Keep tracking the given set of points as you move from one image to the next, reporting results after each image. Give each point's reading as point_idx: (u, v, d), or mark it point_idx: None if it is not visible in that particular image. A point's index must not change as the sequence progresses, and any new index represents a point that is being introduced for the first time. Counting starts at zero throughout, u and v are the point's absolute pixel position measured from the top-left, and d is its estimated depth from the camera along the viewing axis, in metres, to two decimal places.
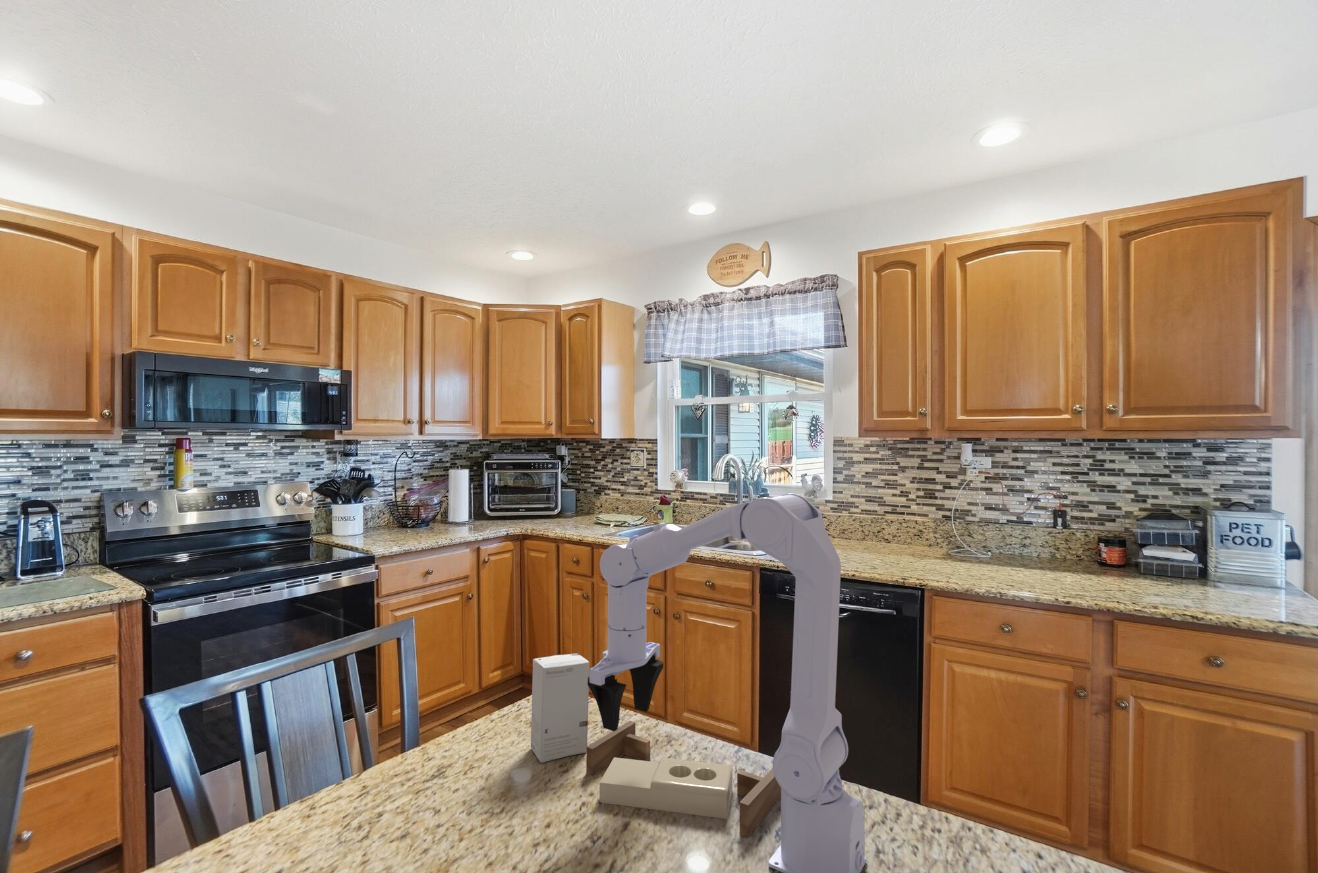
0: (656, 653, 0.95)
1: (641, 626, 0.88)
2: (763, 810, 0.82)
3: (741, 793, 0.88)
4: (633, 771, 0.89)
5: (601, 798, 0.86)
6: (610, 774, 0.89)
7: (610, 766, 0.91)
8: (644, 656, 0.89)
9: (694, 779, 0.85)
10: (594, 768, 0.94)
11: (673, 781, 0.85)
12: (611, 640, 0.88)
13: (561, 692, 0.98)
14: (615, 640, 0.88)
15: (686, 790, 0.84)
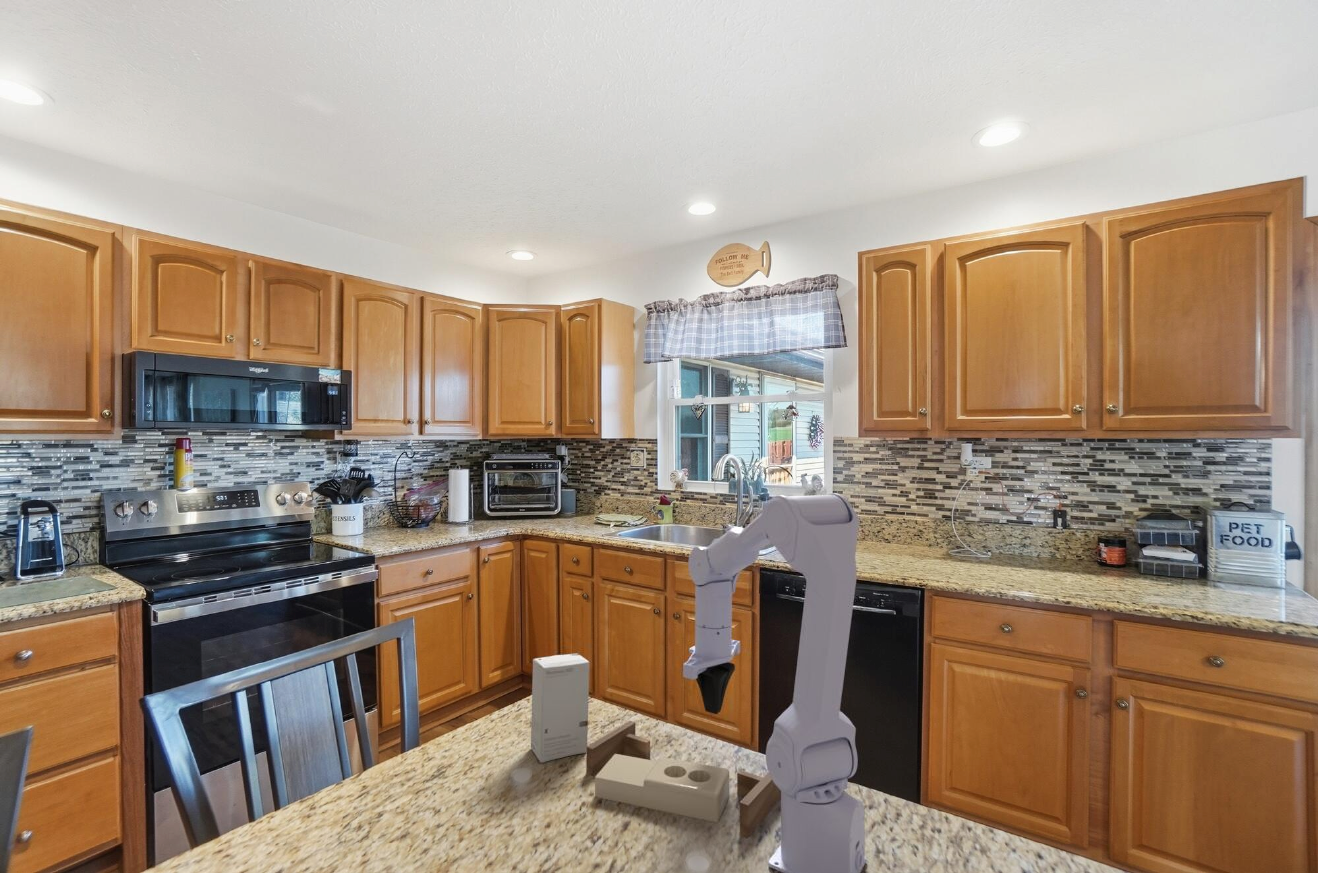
0: (737, 650, 1.00)
1: (721, 626, 0.93)
2: (763, 810, 0.82)
3: (741, 793, 0.88)
4: (630, 768, 0.90)
5: (596, 793, 0.87)
6: (607, 769, 0.90)
7: (609, 762, 0.92)
8: (730, 652, 0.95)
9: (687, 780, 0.85)
10: (594, 768, 0.94)
11: (666, 781, 0.85)
12: (700, 637, 0.94)
13: (561, 692, 0.98)
14: (705, 637, 0.93)
15: (677, 790, 0.84)
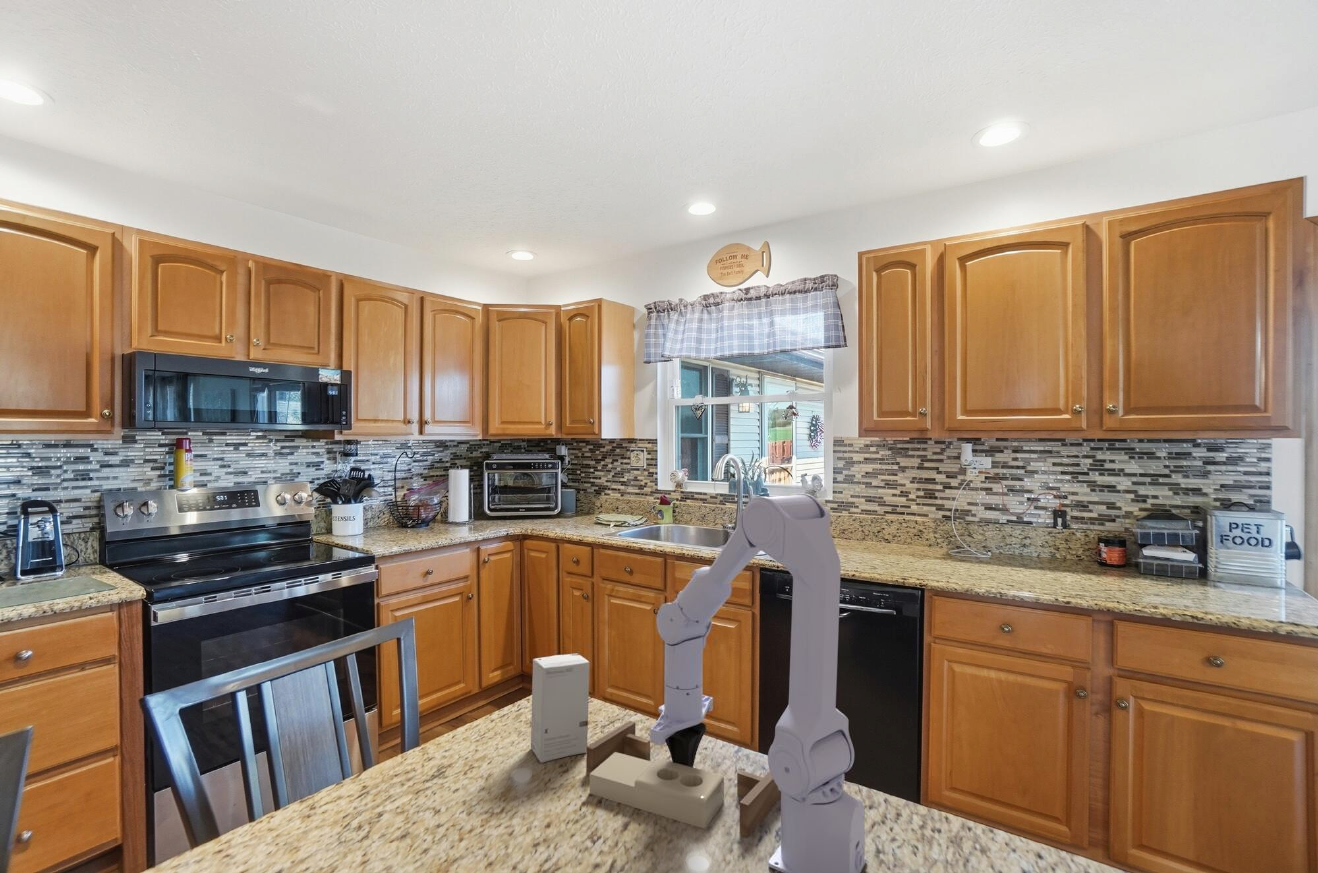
0: (709, 707, 0.96)
1: (695, 685, 0.89)
2: (763, 810, 0.82)
3: (741, 793, 0.88)
4: (626, 767, 0.90)
5: (591, 789, 0.88)
6: (604, 767, 0.90)
7: (607, 760, 0.92)
8: (701, 713, 0.90)
9: (678, 783, 0.84)
10: (594, 768, 0.94)
11: (656, 782, 0.84)
12: (669, 698, 0.90)
13: (561, 692, 0.98)
14: (674, 698, 0.89)
15: (666, 793, 0.83)
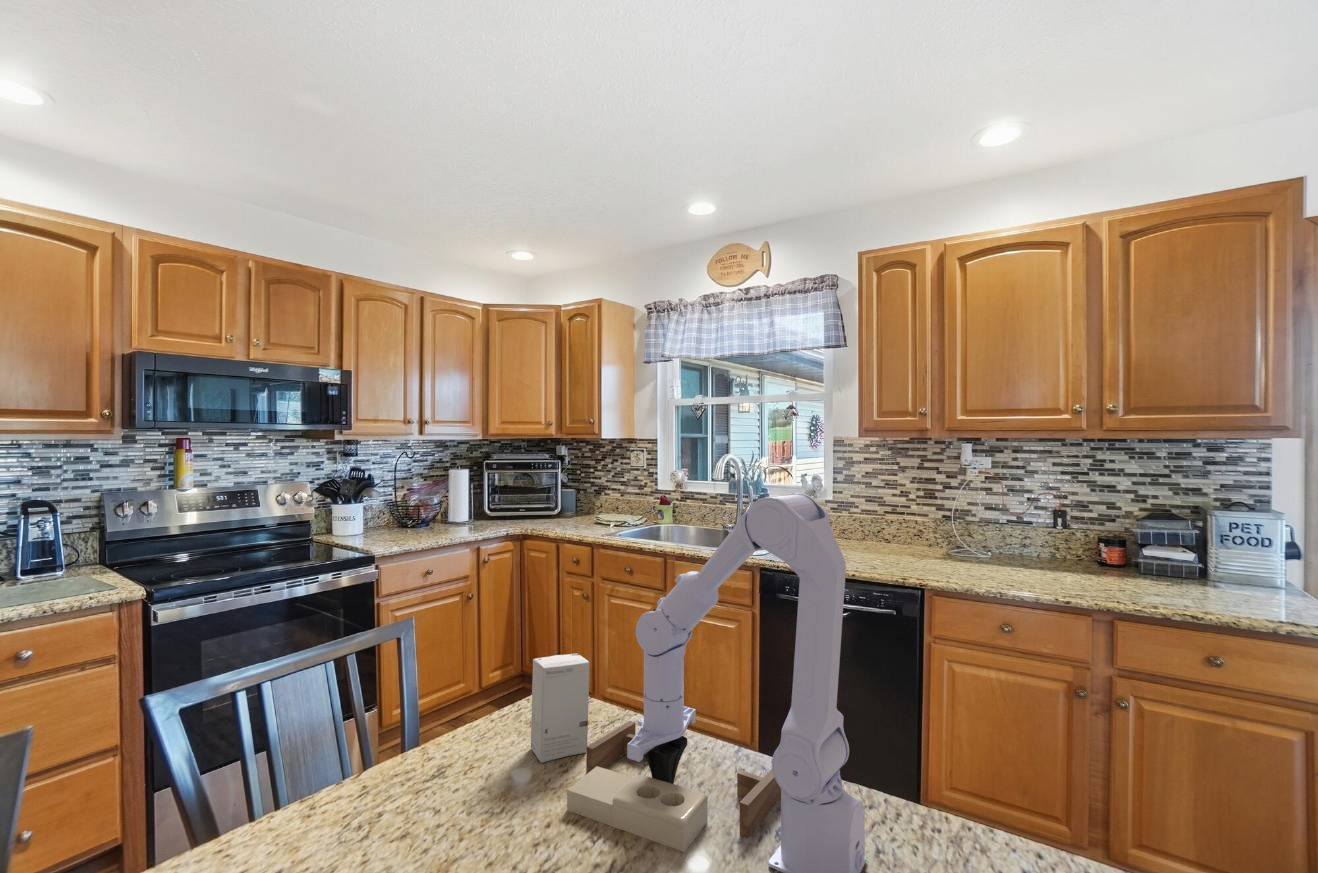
0: (692, 719, 0.92)
1: (678, 696, 0.85)
2: (763, 810, 0.82)
3: (741, 793, 0.88)
4: (606, 783, 0.86)
5: (568, 806, 0.84)
6: (583, 782, 0.86)
7: (587, 775, 0.88)
8: (682, 727, 0.86)
9: (657, 802, 0.80)
10: None
11: (635, 801, 0.80)
12: (648, 710, 0.85)
13: (561, 692, 0.98)
14: (653, 711, 0.85)
15: (645, 813, 0.78)
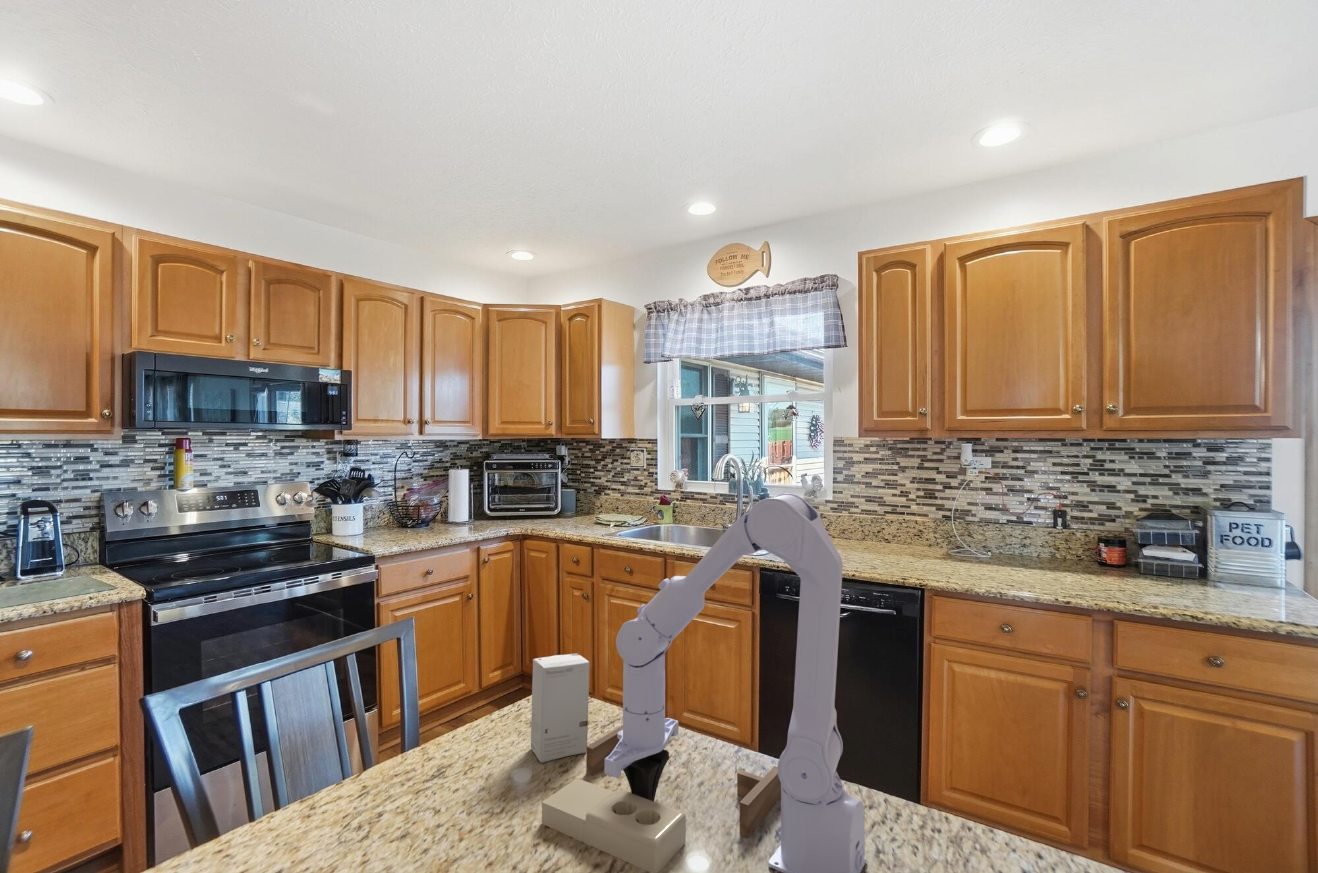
0: (674, 731, 0.88)
1: (662, 707, 0.82)
2: (763, 810, 0.82)
3: (741, 793, 0.88)
4: (583, 797, 0.83)
5: (543, 819, 0.81)
6: (559, 795, 0.83)
7: (565, 787, 0.85)
8: (663, 740, 0.82)
9: (631, 820, 0.76)
10: (594, 768, 0.94)
11: (608, 817, 0.76)
12: (628, 723, 0.81)
13: (561, 692, 0.98)
14: (632, 723, 0.81)
15: (617, 831, 0.75)
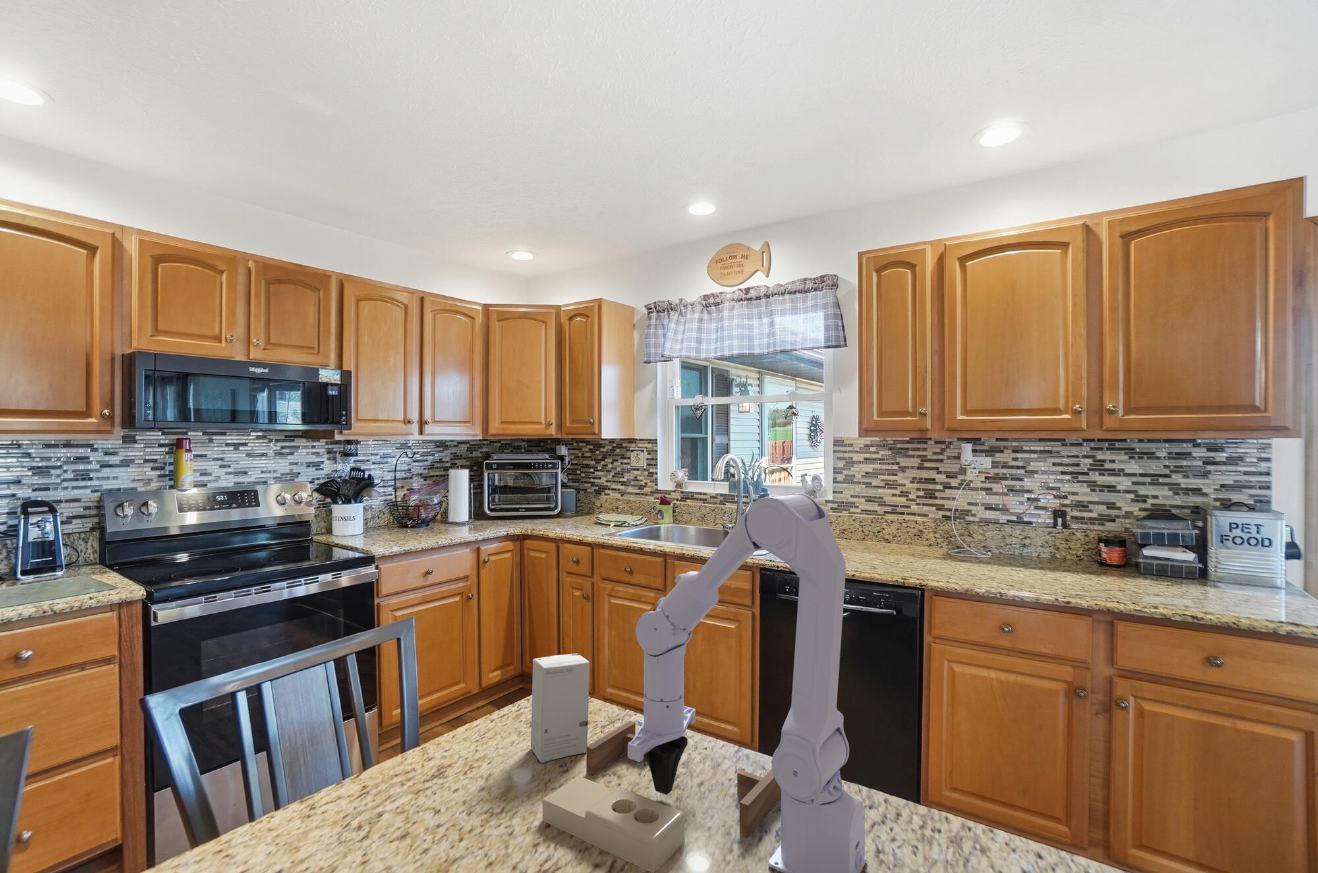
0: (692, 719, 0.92)
1: (679, 696, 0.85)
2: (763, 810, 0.82)
3: (741, 793, 0.88)
4: (584, 795, 0.83)
5: (544, 816, 0.82)
6: (560, 792, 0.83)
7: (567, 784, 0.85)
8: (682, 726, 0.86)
9: (630, 818, 0.76)
10: (594, 768, 0.94)
11: (607, 815, 0.77)
12: (649, 710, 0.85)
13: (561, 692, 0.98)
14: (653, 711, 0.85)
15: (615, 829, 0.75)
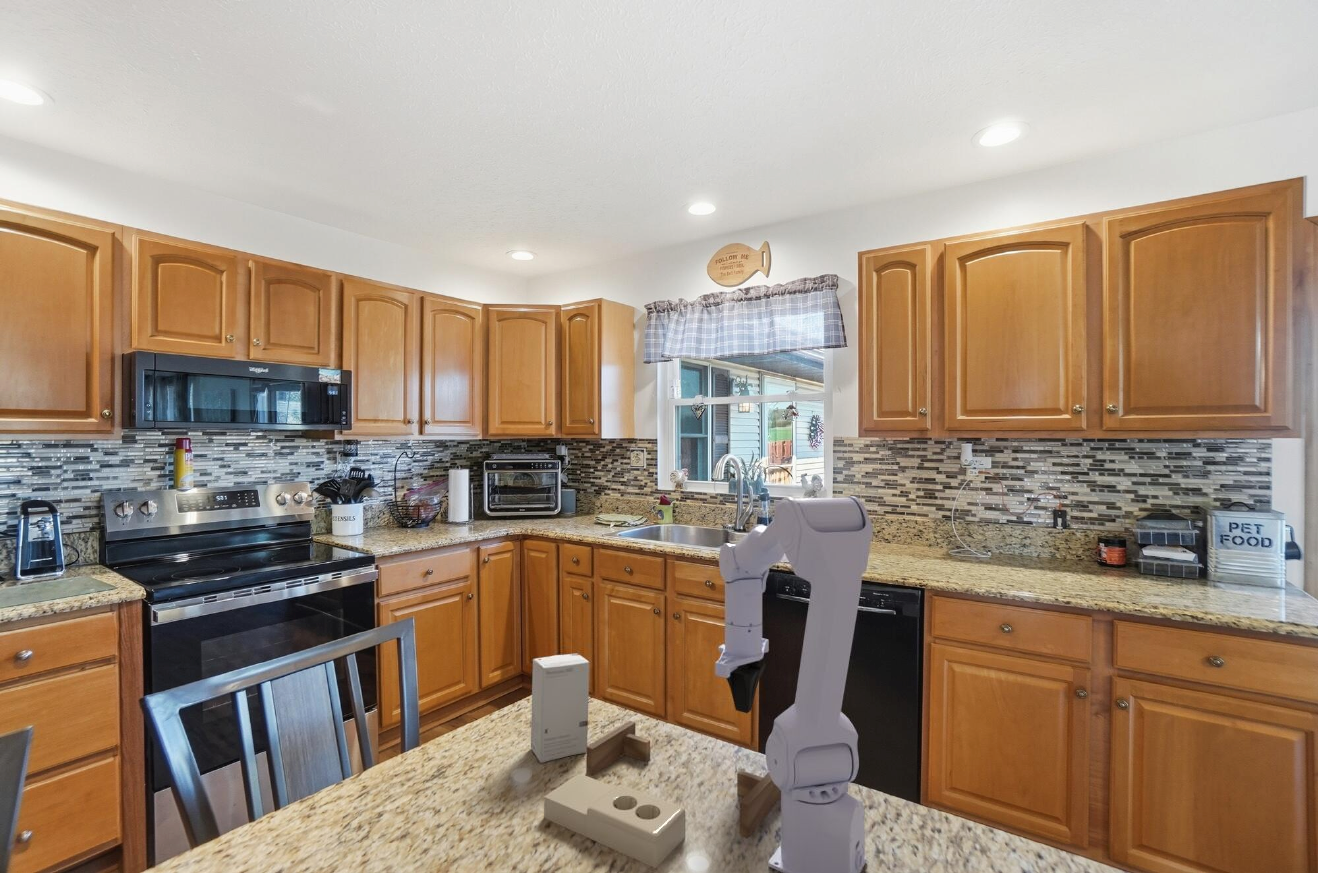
0: (766, 648, 0.99)
1: (748, 624, 0.92)
2: (763, 810, 0.82)
3: (741, 793, 0.88)
4: (585, 792, 0.84)
5: (545, 814, 0.82)
6: (561, 790, 0.84)
7: (567, 782, 0.86)
8: (761, 650, 0.94)
9: (632, 815, 0.77)
10: (594, 768, 0.94)
11: (609, 812, 0.78)
12: (731, 635, 0.93)
13: (561, 692, 0.98)
14: (736, 635, 0.92)
15: (617, 825, 0.76)
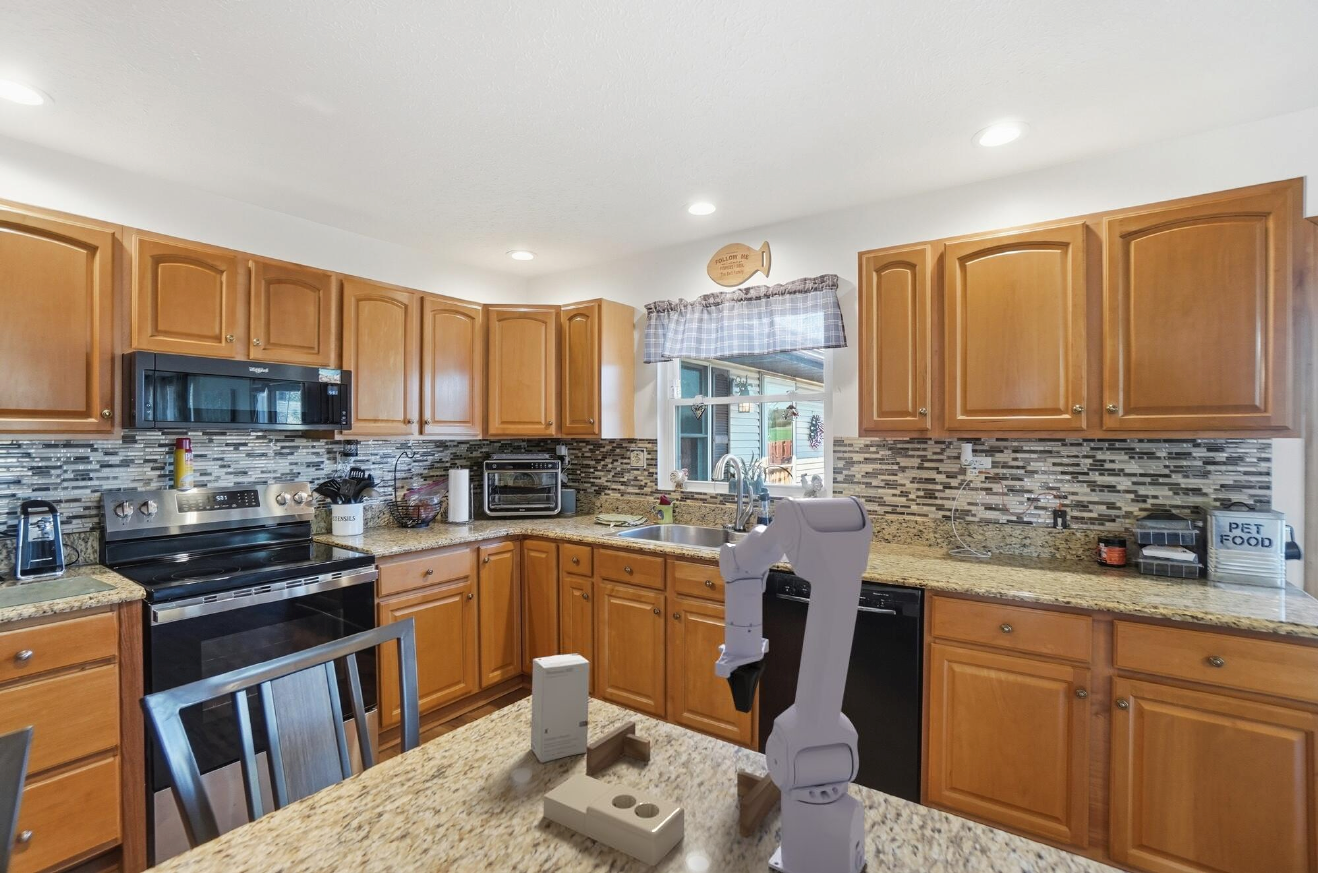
0: (766, 648, 0.99)
1: (748, 624, 0.92)
2: (763, 810, 0.82)
3: (741, 793, 0.88)
4: (584, 791, 0.84)
5: (545, 812, 0.83)
6: (561, 789, 0.84)
7: (567, 781, 0.86)
8: (761, 650, 0.94)
9: (631, 813, 0.77)
10: (594, 768, 0.94)
11: (608, 810, 0.78)
12: (731, 635, 0.93)
13: (561, 692, 0.98)
14: (736, 635, 0.92)
15: (616, 823, 0.76)
